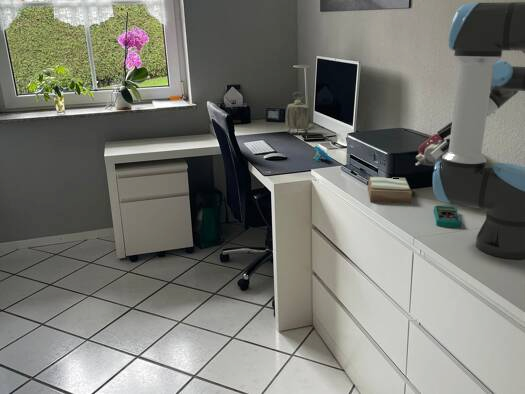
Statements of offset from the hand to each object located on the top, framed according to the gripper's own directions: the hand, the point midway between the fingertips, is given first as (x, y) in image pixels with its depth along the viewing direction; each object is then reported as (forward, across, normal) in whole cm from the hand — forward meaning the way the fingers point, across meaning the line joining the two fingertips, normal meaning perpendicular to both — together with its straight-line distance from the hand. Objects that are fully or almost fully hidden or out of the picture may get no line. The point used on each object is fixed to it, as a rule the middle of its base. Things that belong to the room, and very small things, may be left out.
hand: (429, 153), depth 180 cm
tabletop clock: (+44, +123, +22) cm, 132 cm away
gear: (+36, +55, +13) cm, 67 cm away
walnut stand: (+21, +2, -3) cm, 21 cm away
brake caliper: (+2, 0, -4) cm, 5 cm away
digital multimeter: (+11, -23, -14) cm, 29 cm away
